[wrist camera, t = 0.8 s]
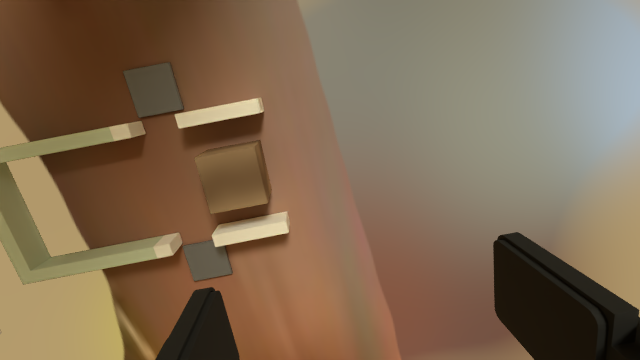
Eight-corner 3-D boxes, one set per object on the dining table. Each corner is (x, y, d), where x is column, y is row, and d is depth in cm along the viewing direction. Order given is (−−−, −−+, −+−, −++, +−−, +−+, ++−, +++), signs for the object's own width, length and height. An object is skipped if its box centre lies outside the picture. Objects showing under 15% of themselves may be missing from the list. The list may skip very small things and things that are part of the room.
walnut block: (208, 149, 30) (194, 158, 26) (260, 139, 30) (254, 146, 26) (221, 198, 31) (210, 213, 27) (271, 189, 31) (267, 203, 27)
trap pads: (124, 71, 27) (122, 71, 27) (170, 62, 27) (168, 62, 27) (195, 279, 33) (194, 281, 33) (232, 272, 33) (232, 273, 33)
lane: (-14, 150, 29) (-43, 156, 26) (261, 97, 29) (257, 98, 26) (44, 269, 32) (23, 284, 30) (289, 222, 32) (288, 232, 30)
